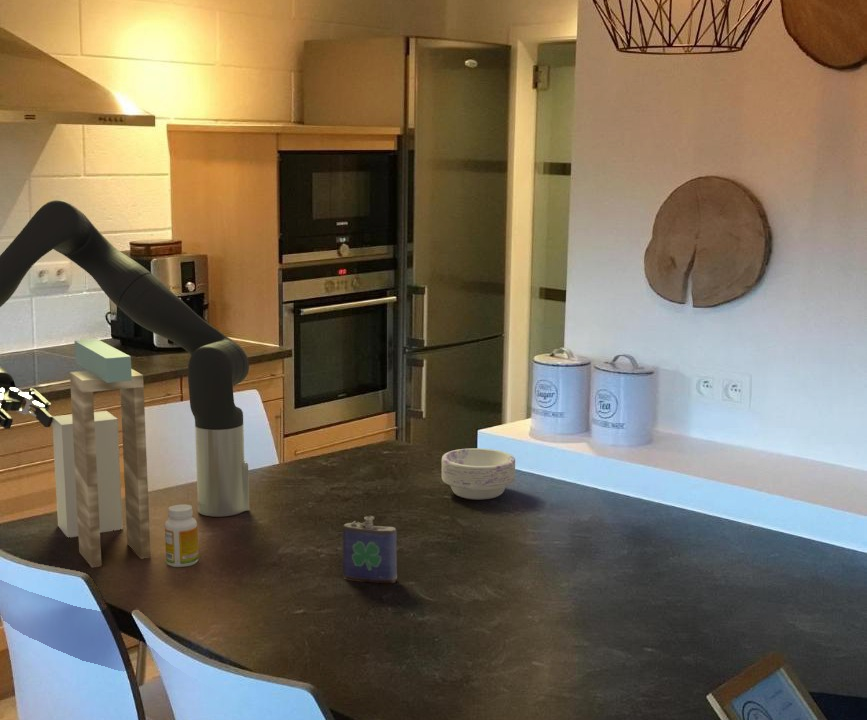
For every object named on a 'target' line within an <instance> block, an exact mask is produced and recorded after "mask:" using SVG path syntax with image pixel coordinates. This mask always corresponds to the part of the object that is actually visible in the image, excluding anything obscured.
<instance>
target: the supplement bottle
mask: <svg viewBox="0 0 867 720" xmlns="http://www.w3.org/2000/svg"><path fill="white" fill-rule="evenodd" d="M167 511H168V514H167V515H168V517H169V518H168V519H167V520H166V521H165V522H164V536H165V537H164V539H165V543H164V544H165V560H166V561H165V562H166V565H168V566H169V567H173V568H185V567H190V566H193V565H196V564H197V563H198V561H199V540H198V538H199V537H198V535H199V534H198V522H197V520H196V518H194V517H192V516H193V514H194V512H193V506H192V505H190V504H185V503H183V504H175V505H171V506H169V507H168V510H167Z"/></svg>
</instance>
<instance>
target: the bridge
mask: <svg viewBox="0 0 867 720" xmlns="http://www.w3.org/2000/svg"><path fill="white" fill-rule="evenodd" d="M131 373H132V381H122V382H111V383H107V382H105V381H103V380H102V379H100V378H99V377H97V376H96V375H94V374H92V373H91V372H89V371H88V370H81V371H80V370H79V371H70V372H69V380H70V381H69V382H70V385H69V386H70V397H71V398H70V401H71V415H72V422H73V441H74V460H75V479H76V498H77V517H78V536H77V537H78V552H79V554H80V555H81V556H82V557H83V559H84V560H85V561H86V562H87V564H89V566H90V568H92V569H93V568H98V567H102V550H101V549H102V548H101V533H100V524H99V504H98V484H97V464H96V444H95V423H94V412H95V408H94V407H95V406H94V393H95V392H103V391H115V390H119V392H120V393H119V395H120V411H121V413H120V414H121V416H120V417H121V431H122V432H121V433H122V454H123V455H122V456H123V476H124V477H123V478H124V479H123V480H124V498H125V499H124V500H125V502H124V504H125V520H126V521H125V522H126V523H125V524H126V542H127V543H126V544H128V545H129V546H130V547H131V548H132V549H133V550H134V551H133V550H132V549H131V548H130V547H129V546H128V545H127V546H128V547H129V548H130V549H131V550H132V551H133V552H134V553H135V552H136V553H137V554H136V553H135V554H136V555H137V556H138V557H139V558H140V559H141V560H144V558H146V559H150V558H149V557H151V558H152V556H151V555H152V553H151V533H150V532H151V531H150V510H149V509H150V508H149V504H150V503H149V484H148V483H149V481H148V461H147V460H148V459H147V438H146V437H147V436H146V415H145V413H146V411H145V391H144V390H145V389H144V388H145V387H144V374H142V373H140V372H138V371H136V370H135V369H133V368H131Z"/></svg>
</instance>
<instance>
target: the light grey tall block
mask: <svg viewBox="0 0 867 720" xmlns="http://www.w3.org/2000/svg"><path fill="white" fill-rule="evenodd" d="M52 416H53V420H52V423H51V425H52V441H53V461H54V477H55V494H56V511H57V512H56V514H57V516H56V517H57V527H58V528H59V529H60V530H61V531H62V533H63V534H64V535H65V536H66V537H68V538H69V537H70V538H77V537H79V536H78V517H77V498H76V479H75V460H74V441H73V422H72V414H66V415H65V414H64V415H56V416H55V415H52ZM118 420H119V418H117V417H116V416H114V415H113V414H111V413H110V412H109V411H107V410H102V411H101V410H100V411H94V423H95V444H96V464H97V484H98V504H99V524H100V534H101V533H106V532H107V533H108V532H113V530H114V531H121V530H123V529H124V526H123V508H122V507H123V505H122V504H123V503H122V483H121V481H122V480H121V462H120V461H121V460H120V441H119V440H120V439H119V436H120V435H119V421H118ZM120 529H121V530H120ZM68 538H67V539H68Z"/></svg>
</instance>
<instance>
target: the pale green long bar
mask: <svg viewBox="0 0 867 720" xmlns="http://www.w3.org/2000/svg"><path fill="white" fill-rule="evenodd" d="M74 358H75V364H77V365H78V366H80V367H81V368H83V369H84V370H85V371H89V372H91V373H92V374H94V375H96V376H97V377H99V378H100V379H102V380H103V381H105V382H107V383H111V382H122V381H132V373H131V369H132V356H131V355H129V354H126V353H125V352H123V351H121V350H119V349H117V348H115V347H114V346H111V345H110V344H108V343H106V342H104V341H102V340H100V339H97V338H94V339H93V338H92V339H78V340H74Z"/></svg>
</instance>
